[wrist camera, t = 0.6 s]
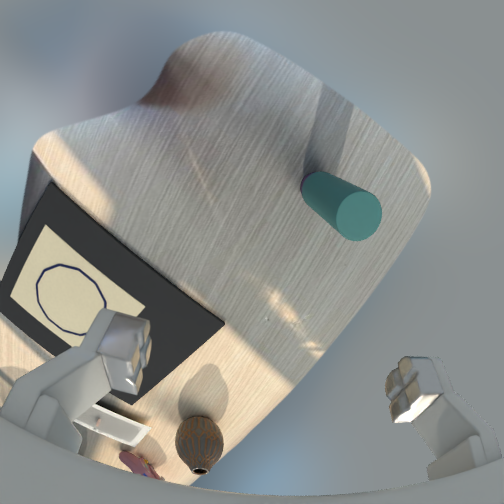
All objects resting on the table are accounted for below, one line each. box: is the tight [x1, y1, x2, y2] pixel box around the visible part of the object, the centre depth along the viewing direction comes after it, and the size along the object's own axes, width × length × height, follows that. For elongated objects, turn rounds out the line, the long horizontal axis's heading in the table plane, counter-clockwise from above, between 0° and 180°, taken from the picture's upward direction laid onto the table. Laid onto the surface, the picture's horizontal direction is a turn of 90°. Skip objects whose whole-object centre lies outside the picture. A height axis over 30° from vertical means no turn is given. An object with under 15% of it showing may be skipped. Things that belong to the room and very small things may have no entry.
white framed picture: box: [74, 404, 151, 447], centre depth 38 cm, size 8×15×2 cm, turn 55°
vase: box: [175, 417, 224, 475], centre depth 37 cm, size 7×7×9 cm
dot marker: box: [301, 171, 382, 241], centre depth 25 cm, size 4×4×10 cm
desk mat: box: [0, 182, 225, 405], centre depth 32 cm, size 24×20×1 cm
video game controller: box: [119, 451, 165, 481], centre depth 43 cm, size 10×5×7 cm, turn 13°
